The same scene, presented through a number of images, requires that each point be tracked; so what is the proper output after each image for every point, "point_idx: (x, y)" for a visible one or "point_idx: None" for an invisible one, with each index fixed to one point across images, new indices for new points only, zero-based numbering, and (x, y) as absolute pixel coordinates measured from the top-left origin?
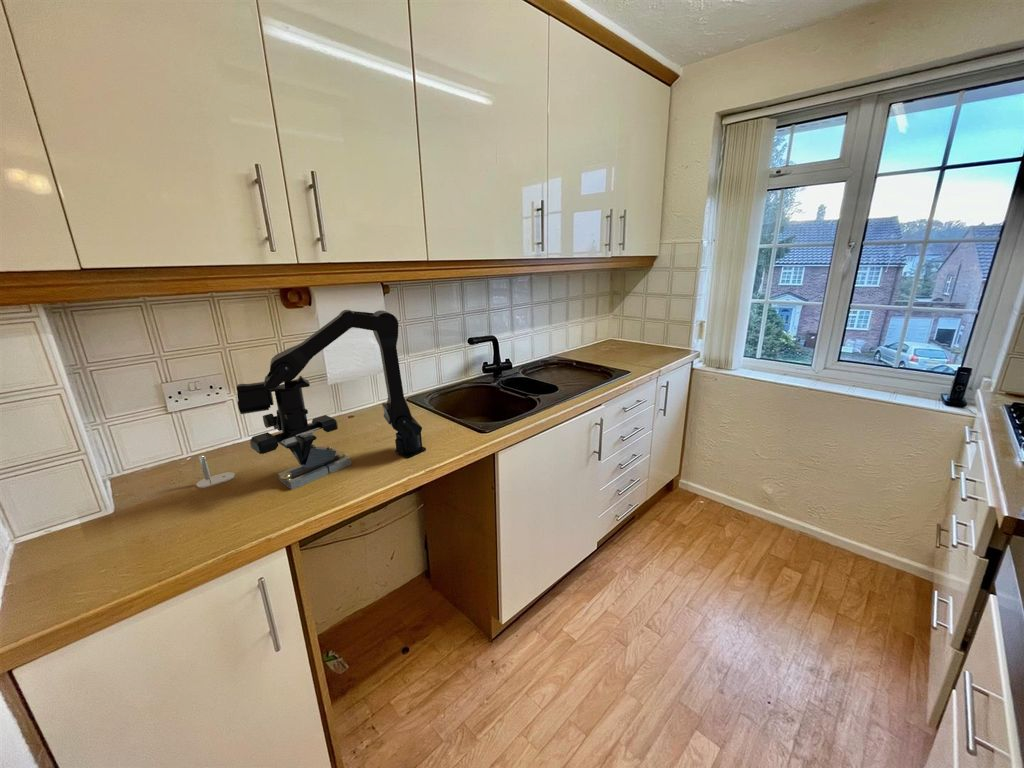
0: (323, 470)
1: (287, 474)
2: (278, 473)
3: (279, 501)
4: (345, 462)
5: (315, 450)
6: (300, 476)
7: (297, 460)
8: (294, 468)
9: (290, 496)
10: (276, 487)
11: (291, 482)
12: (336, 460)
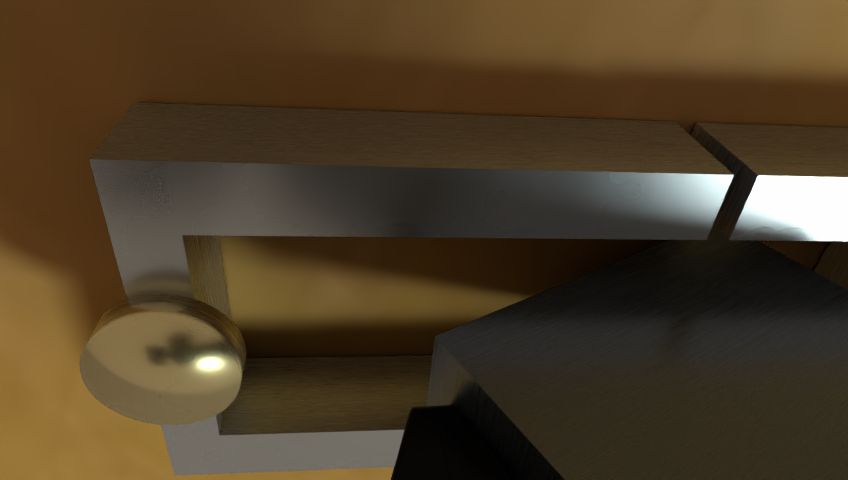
0: None
1: (189, 379)
2: (98, 161)
3: (45, 473)
4: None
5: None
6: (318, 439)
7: (394, 473)
8: (370, 210)
9: (151, 467)
10: (61, 238)
11: (190, 468)
12: (844, 284)
